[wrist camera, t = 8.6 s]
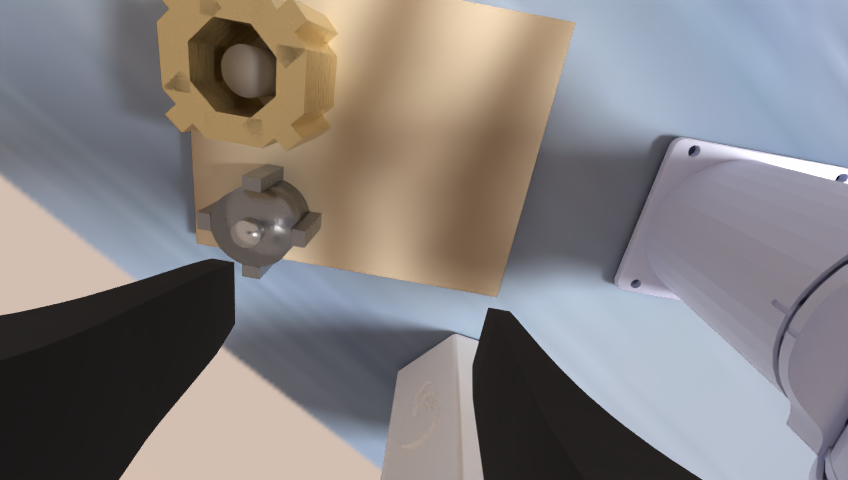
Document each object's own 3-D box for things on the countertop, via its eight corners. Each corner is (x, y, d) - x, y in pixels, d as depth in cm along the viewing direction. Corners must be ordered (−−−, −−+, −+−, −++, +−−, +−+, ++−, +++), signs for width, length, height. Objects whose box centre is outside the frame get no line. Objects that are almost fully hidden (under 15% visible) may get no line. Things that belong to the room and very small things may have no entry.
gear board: (568, 25, 17) (603, 9, 13) (494, 287, 22) (505, 330, 18) (195, -47, 16) (122, -85, 13) (207, 236, 21) (157, 269, 18)
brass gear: (340, 17, 16) (309, -2, 12) (331, 139, 18) (301, 155, 14) (219, -5, 16) (152, -31, 12) (223, 120, 18) (165, 131, 14)
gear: (325, 174, 19) (303, 191, 16) (318, 263, 20) (297, 293, 18) (225, 156, 19) (185, 169, 16) (227, 247, 20) (191, 274, 17)
